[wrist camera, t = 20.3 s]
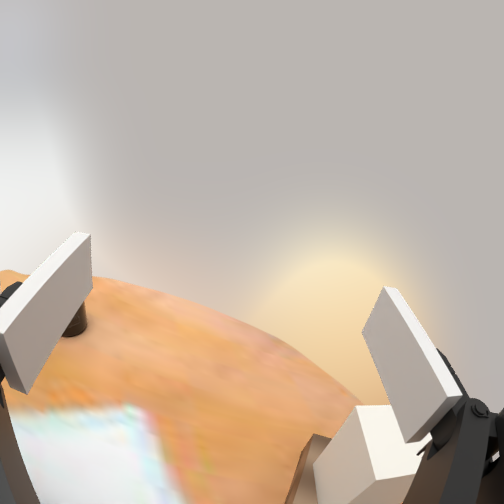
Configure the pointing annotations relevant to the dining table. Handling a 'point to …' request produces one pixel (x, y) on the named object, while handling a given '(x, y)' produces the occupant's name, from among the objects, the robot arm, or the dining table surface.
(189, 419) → the dining table surface
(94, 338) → the dining table surface
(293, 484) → the walnut stand
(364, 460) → the upright white rectangular block
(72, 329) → the supplement bottle
